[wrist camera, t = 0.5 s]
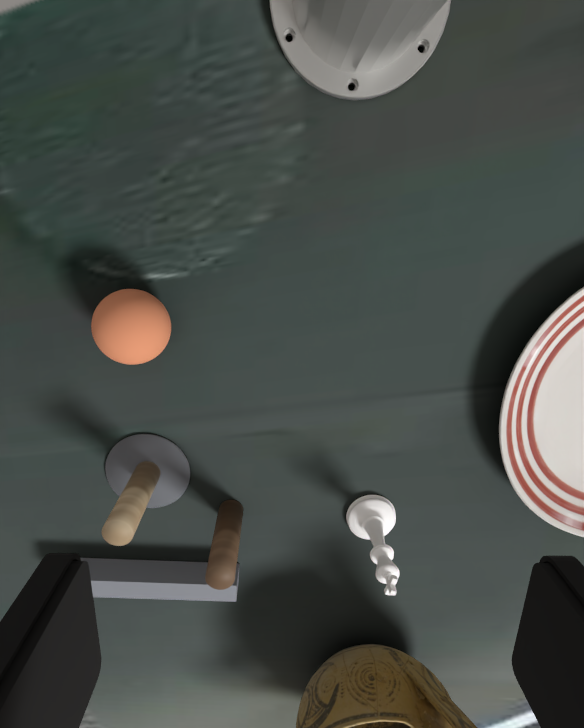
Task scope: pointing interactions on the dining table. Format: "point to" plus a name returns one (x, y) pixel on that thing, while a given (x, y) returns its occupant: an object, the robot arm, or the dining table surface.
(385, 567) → the chess piece
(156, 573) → the back wall
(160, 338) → the ball
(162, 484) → the pin spot
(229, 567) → the walnut pin
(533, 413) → the dinner plate
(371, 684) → the ceramic bowl
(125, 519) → the beech pin
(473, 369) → the dining table surface
